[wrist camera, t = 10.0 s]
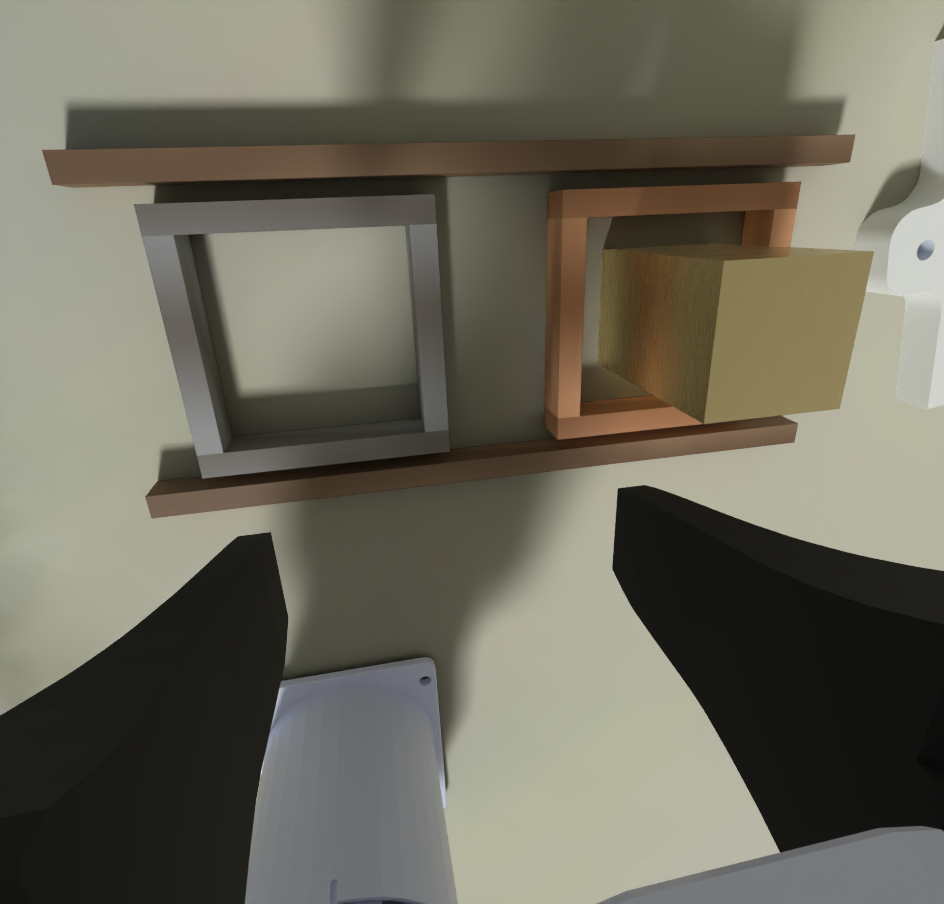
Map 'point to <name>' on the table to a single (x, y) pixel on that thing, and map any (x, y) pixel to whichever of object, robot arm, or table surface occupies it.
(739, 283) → the brass block
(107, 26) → the table surface
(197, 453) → the socket rail
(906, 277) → the mounting plate
